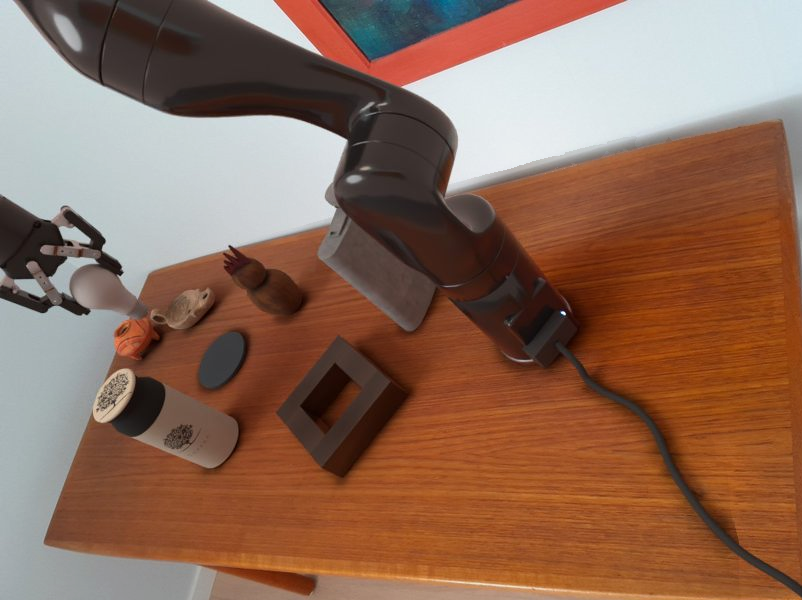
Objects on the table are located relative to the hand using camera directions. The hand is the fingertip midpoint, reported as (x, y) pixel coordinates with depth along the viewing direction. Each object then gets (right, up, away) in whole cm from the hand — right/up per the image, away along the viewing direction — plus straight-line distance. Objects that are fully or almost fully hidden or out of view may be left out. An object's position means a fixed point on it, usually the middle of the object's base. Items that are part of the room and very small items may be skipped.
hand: (104, 291), depth 89 cm
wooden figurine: (+22, -1, +15) cm, 27 cm away
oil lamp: (+1, -3, +29) cm, 29 cm away
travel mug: (+13, -22, +8) cm, 27 cm away
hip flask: (+44, +2, +2) cm, 44 cm away
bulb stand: (+33, -16, -2) cm, 37 cm away
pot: (-9, -8, +32) cm, 34 cm away
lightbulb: (+3, -3, +5) cm, 7 cm away
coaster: (+10, -10, +18) cm, 23 cm away
